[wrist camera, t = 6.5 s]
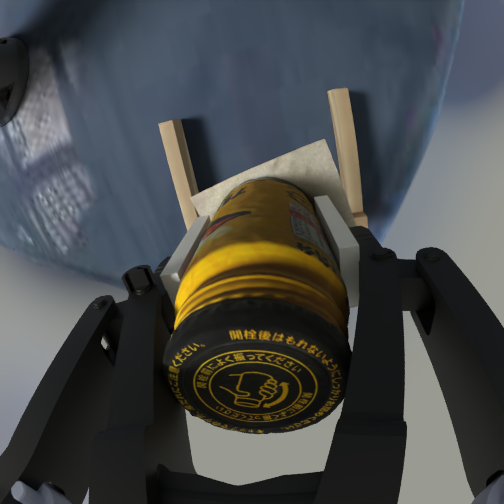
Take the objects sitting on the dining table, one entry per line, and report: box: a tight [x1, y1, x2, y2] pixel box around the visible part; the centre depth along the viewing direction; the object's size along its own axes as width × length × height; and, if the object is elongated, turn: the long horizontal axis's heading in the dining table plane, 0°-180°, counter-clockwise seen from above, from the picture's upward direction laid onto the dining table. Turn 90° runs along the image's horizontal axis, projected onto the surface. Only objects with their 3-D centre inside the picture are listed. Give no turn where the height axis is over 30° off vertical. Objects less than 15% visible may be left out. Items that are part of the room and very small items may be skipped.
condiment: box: [163, 139, 356, 434], centre depth 12 cm, size 7×8×12 cm
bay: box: [159, 88, 368, 230], centre depth 29 cm, size 19×14×4 cm
